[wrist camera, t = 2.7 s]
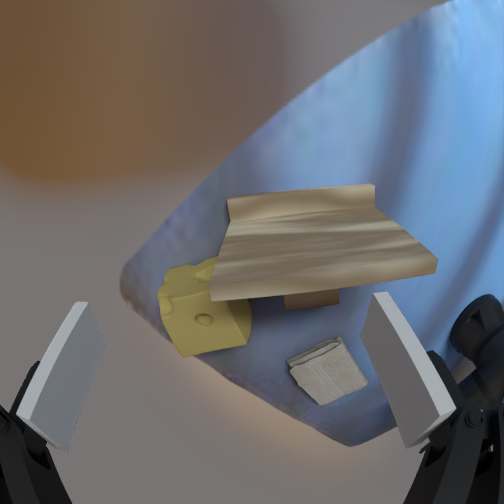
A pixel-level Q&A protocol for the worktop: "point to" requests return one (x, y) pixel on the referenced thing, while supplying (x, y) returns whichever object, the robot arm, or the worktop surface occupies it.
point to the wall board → (312, 246)
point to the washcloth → (327, 371)
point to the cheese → (201, 312)
